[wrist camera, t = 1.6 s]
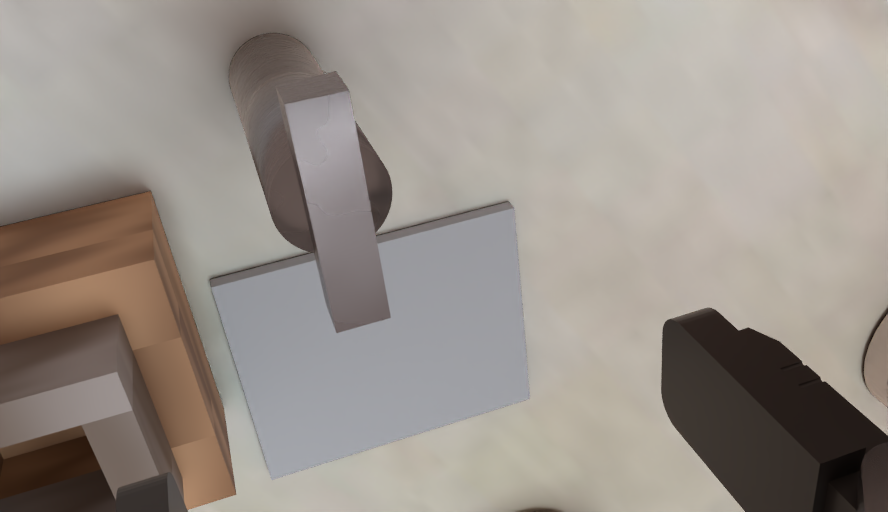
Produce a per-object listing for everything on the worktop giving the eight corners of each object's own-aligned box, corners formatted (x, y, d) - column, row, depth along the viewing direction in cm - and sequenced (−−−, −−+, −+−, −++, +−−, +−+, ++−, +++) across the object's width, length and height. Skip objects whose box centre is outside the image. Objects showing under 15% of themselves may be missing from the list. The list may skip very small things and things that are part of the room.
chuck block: (150, 190, 29) (156, 312, 23) (223, 408, 34) (245, 558, 28) (-166, 265, 27) (-261, 423, 21) (-37, 484, 32) (-81, 666, 26)
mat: (508, 201, 34) (514, 207, 33) (525, 391, 39) (529, 398, 39) (209, 279, 31) (211, 287, 31) (269, 470, 37) (271, 480, 36)
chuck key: (299, -21, 27) (385, 82, 18) (333, 147, 31) (421, 309, 21) (206, -3, 27) (246, 113, 18) (251, 167, 30) (305, 341, 21)
